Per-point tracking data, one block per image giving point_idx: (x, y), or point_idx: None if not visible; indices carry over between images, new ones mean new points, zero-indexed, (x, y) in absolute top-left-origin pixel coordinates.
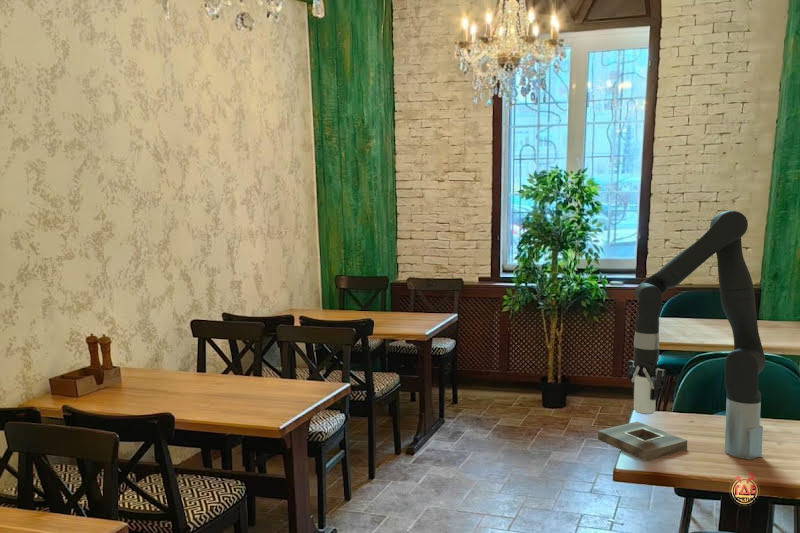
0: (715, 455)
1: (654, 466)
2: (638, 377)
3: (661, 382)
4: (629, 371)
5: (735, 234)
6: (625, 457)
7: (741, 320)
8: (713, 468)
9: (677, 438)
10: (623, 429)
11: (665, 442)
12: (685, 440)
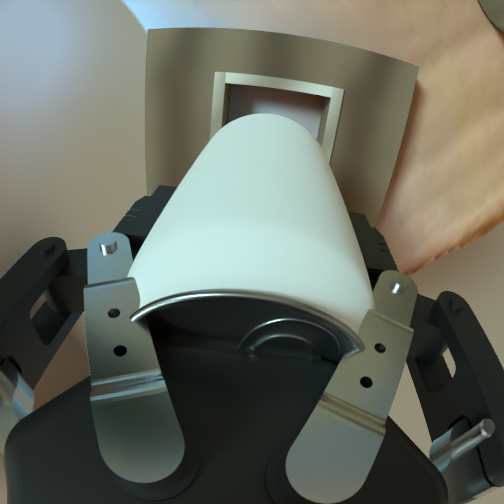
0: (478, 54)
1: None
2: None
3: (456, 342)
4: (45, 359)
5: None
6: None
7: None
8: (499, 157)
9: (383, 70)
10: (183, 151)
11: (373, 145)
12: (413, 69)
